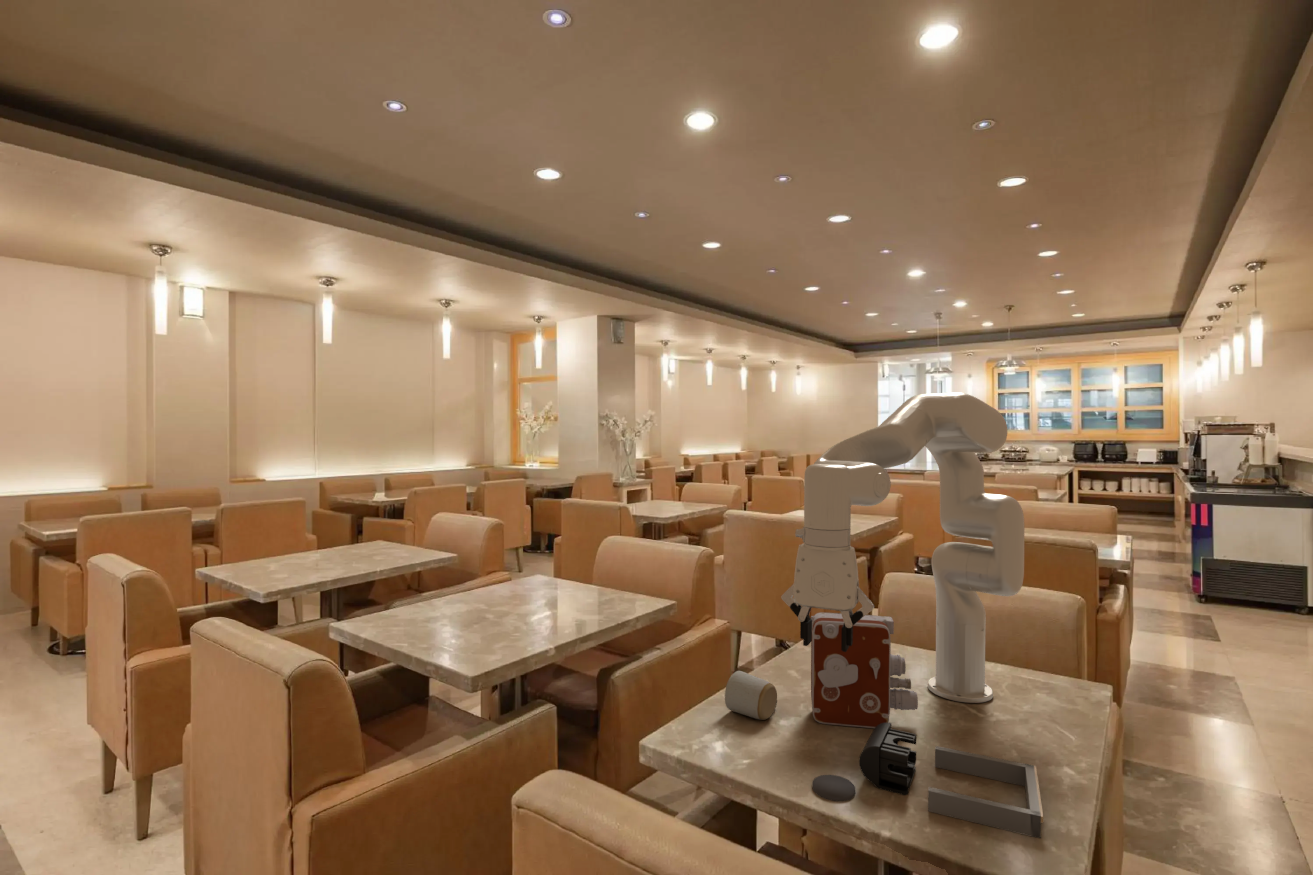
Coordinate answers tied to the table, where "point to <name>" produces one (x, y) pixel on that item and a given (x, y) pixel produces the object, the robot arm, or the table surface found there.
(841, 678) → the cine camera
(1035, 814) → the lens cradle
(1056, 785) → the table surface
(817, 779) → the lens cap
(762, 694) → the ceramic mug
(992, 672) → the table surface
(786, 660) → the table surface
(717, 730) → the table surface
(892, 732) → the end cap
